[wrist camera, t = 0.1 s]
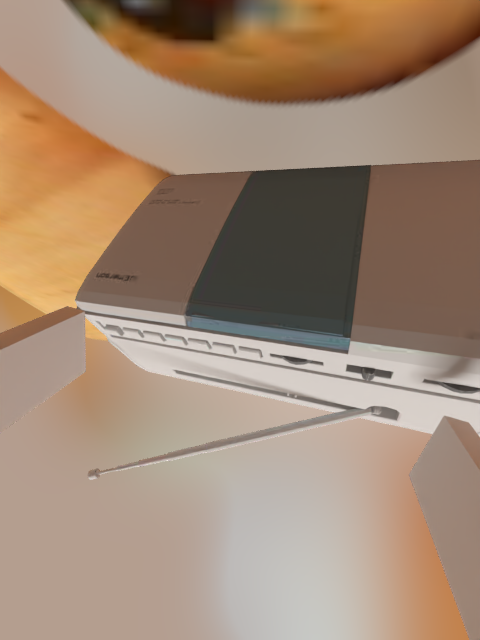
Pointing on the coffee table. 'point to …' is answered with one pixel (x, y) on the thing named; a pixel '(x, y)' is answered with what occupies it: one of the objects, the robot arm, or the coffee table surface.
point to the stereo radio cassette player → (304, 291)
